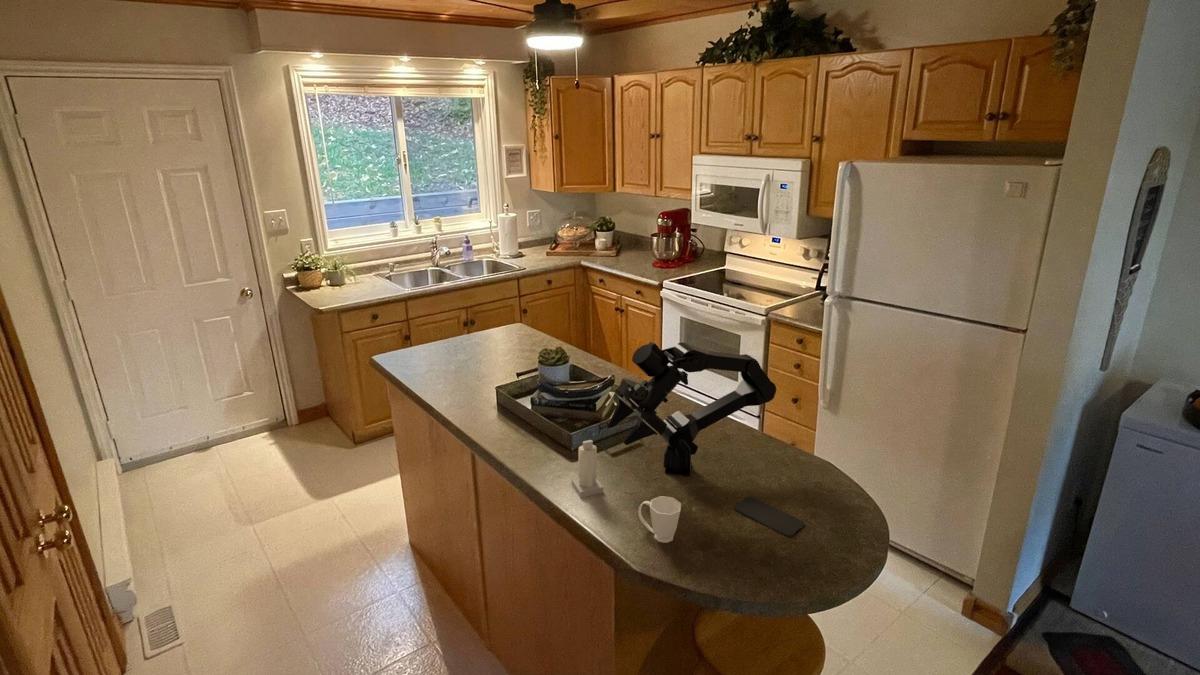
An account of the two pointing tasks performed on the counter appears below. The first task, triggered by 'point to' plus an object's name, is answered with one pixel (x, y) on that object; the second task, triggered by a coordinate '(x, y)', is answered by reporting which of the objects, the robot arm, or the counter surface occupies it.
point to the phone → (769, 516)
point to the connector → (587, 471)
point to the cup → (662, 517)
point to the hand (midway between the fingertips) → (616, 435)
